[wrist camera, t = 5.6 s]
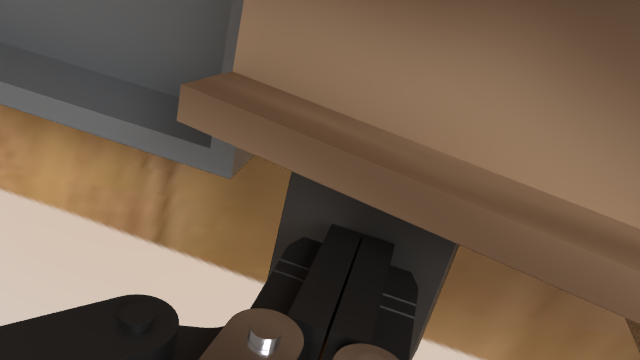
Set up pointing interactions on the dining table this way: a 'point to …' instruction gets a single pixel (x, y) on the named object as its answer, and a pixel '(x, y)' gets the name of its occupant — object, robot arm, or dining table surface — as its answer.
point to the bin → (121, 69)
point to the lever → (447, 132)
